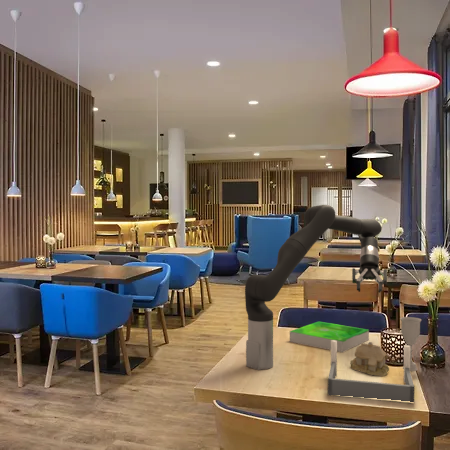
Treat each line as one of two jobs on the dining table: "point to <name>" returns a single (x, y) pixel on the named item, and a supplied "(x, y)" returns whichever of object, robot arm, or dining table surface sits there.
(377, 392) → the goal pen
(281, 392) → the dining table surface
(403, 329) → the chalice
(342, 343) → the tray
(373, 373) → the ceramic model
